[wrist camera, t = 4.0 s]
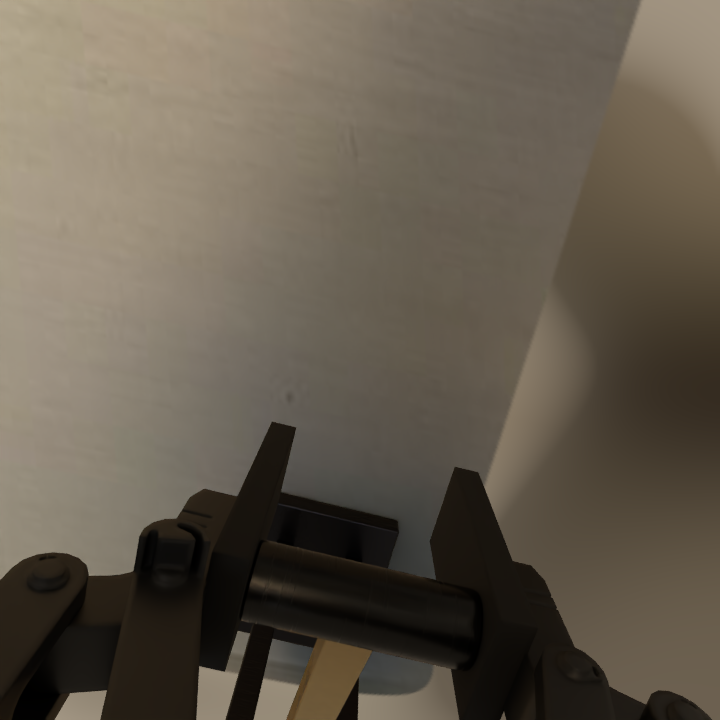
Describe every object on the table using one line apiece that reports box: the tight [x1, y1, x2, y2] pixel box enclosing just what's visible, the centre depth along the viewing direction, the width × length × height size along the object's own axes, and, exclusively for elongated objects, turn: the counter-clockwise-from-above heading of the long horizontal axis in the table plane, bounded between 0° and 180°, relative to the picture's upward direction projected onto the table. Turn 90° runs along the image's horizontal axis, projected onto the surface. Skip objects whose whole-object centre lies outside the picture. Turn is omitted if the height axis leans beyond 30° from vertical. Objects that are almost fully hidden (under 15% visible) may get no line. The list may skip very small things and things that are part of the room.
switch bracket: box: [226, 493, 399, 720], centre depth 26 cm, size 9×8×15 cm
